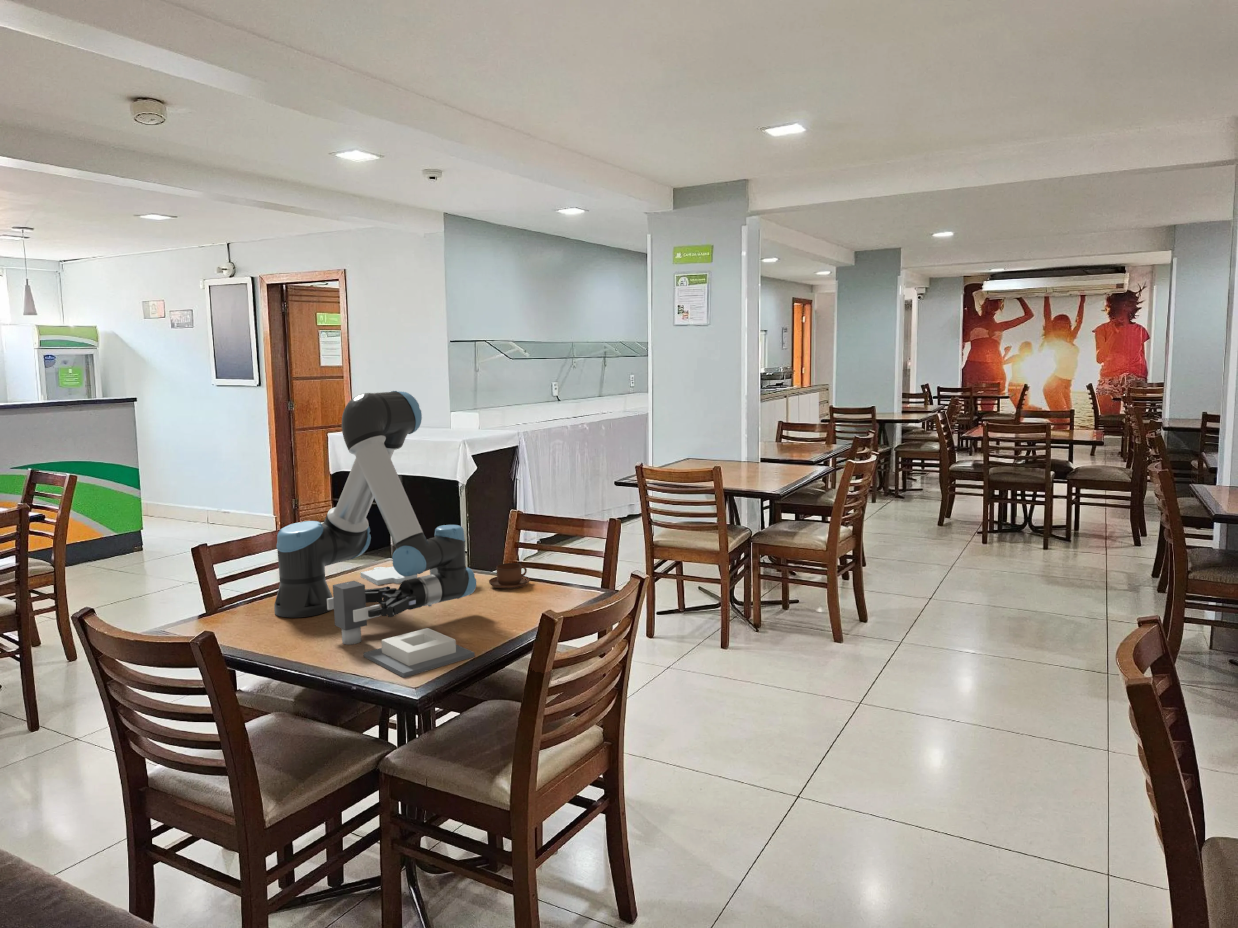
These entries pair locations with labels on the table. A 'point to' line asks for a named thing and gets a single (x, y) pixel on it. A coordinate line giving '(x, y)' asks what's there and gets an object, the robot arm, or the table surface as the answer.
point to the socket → (418, 652)
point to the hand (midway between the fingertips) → (340, 610)
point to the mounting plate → (384, 576)
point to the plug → (349, 610)
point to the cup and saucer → (509, 576)
